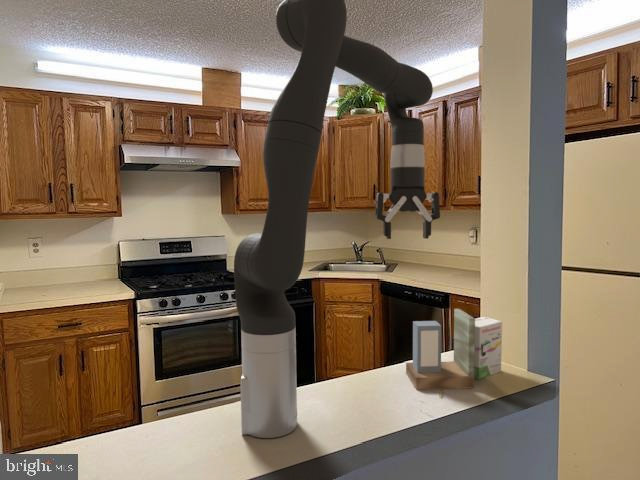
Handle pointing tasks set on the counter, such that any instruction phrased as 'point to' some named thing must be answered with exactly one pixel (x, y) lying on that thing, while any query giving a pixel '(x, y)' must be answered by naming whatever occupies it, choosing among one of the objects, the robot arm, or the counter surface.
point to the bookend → (454, 371)
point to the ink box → (487, 347)
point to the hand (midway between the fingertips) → (407, 238)
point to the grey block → (426, 346)
